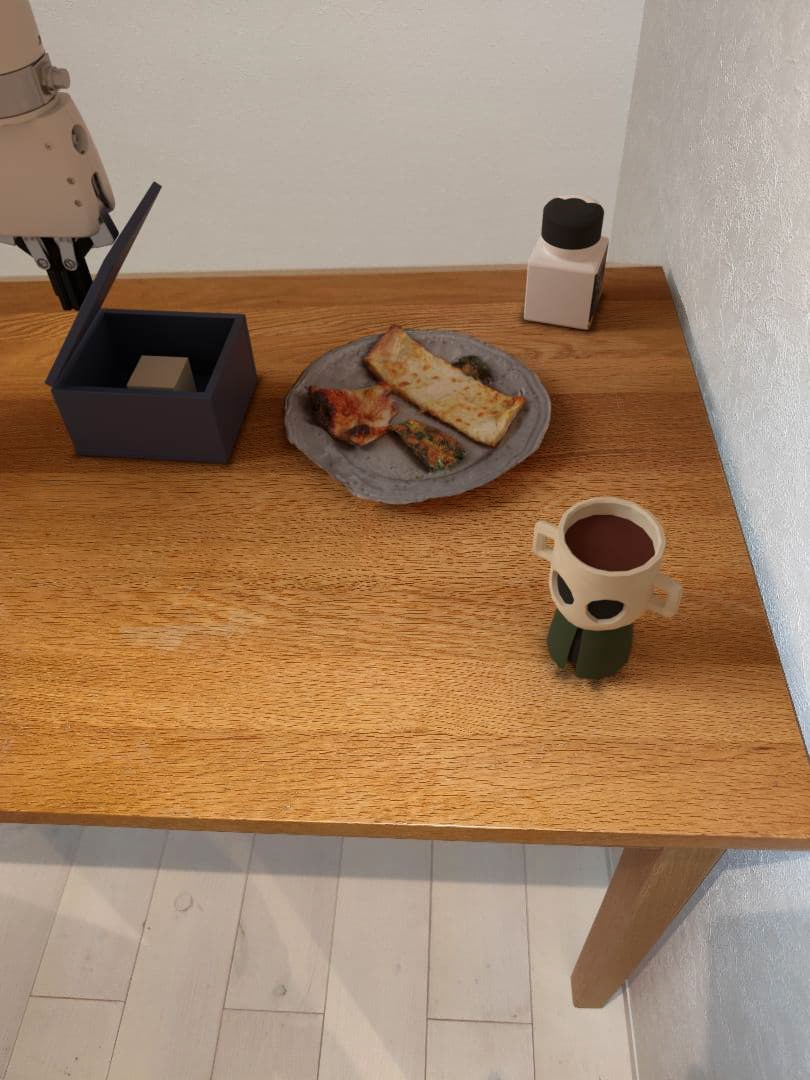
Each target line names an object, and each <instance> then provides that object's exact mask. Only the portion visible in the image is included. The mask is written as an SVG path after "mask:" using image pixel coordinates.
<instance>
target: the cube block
mask: <svg viewBox="0 0 810 1080" xmlns="http://www.w3.org/2000/svg"><path fill="white" fill-rule="evenodd" d="M127 388H129V389H149V390H169V391H189V392H197V390H196V386H195V383H194V379H193V375H192V371H191V367H190V364H189V360H188V358H184V357H163V356H141V358H140V360H139V362H138V364H137V366H136V368H135V370H134V372H133V374H132V376H131V378H130V380H129V382H128V384H127Z"/></svg>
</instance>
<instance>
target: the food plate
mask: <svg viewBox="0 0 810 1080" xmlns="http://www.w3.org/2000/svg"><path fill="white" fill-rule="evenodd" d="M282 406H283V407H282V412H283V418H282V420H283V422H284V425H283V432H284V434H285V436H286V438H287V440H288V442H289V443H290V445H292V446H295V447H296V448H297V449H298V450H299V451H300V452H302V453H303V454H304V456H306V457H308V459H309V460H310V461H311V462H313V463H314V464H315V465H316V466H318V468H319V469H322V470H323V471H325V472H326V473H327V474H328V475H329V476H331V478H332V479H333V480H336V481H338V482H339V483H343V486H344V487H346V489H347V490H348V491H349V493H350V494H351V495H352V496H354V497H357V498H359V499H364V500H370V501H373V502H377V503H383V504H387V505H388V504H389V505H408V504H410V503H412V504H413V503H414V504H415V503H422V502H424V501H426V500H428V499H437V498H439V499H440V498H445V497H452V496H456V495H460V494H464V493H467V492H468V491H472V490H474V489H477V488H478V487H482V486H485V485H487V484H488V483H491V482H492V481H493V480H495V479H497V478H499V477H500V476H502V475H504V474H507V471H509V470H512V469H513V468H516V467H517V465H519V464H520V463H522V462H524V461H525V460H526V458H528V457H530V456H531V455H532V454H534V453H535V452H536V451H537V450H538V449H539V448H540V446H541V445H542V443H543V442H542V441H544V438H545V434H546V433H547V431H548V429H549V427H550V420H551V419H552V417H551V415H552V401H551V397H550V394H549V392H548V390H547V389H546V388H545V386H544V385H543V383H542V381H541V378H540V376H538V374H537V372H536V371H535V370H533V368H532V367H530V366H529V365H527V364H526V363H525V362H523V361H522V360H520V359H519V358H517V357H516V356H513V355H511V354H510V353H508V352H507V351H505V350H503V349H501V348H500V347H497V346H495V345H493V344H491V343H489V342H487V341H485V340H483V339H481V338H478V337H477V336H474V335H471V334H467V333H465V332H460V331H455V330H449V329H447V330H446V329H436V328H434V329H420V328H417V329H414V328H412V329H411V328H408V327H402V325H400V324H399V323H398V324H396V322H394V323H392V324H391V325H390V326H389V328H388V330H387V331H386V332H384V333H383V332H382V333H379V334H377V333H376V334H374V333H373V334H368V335H366V336H362V337H360V338H358V339H355V340H351V341H350V342H347V343H346V344H343V345H340V346H338V347H334V348H333V349H329V350H327V351H326V353H325V352H324V353H323V354H322V355H321V356H319V357H317V358H316V359H315V360H313V361H312V362H310V364H308V365H307V366H306V367H305V369H304V370H303V371H301V373H300V374H299V375H298V377H297V379H296V381H295V382H294V383H293V384H292V386H291V387H290V388H289V390H287V393H286V395H285V396H284V398H283V403H282Z"/></svg>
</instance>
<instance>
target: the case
mask: <svg viewBox="0 0 810 1080" xmlns="http://www.w3.org/2000/svg"><path fill="white" fill-rule="evenodd" d="M249 331H250V330H249V326H248V321H247V316H246V313H231V312H230V313H228V312H205V311H183V310H182V311H179V310H156V309H129V308H108V307H105V308H104V307H101V308H100V310H99V311H98V313H97V315H96V316H95V318H94V320H93V321H92V323H91V325H90V326H89V328H88V330H87V331H86V333H85V335H84V336H83V338H82V340H81V341H80V343H79V345H78V347H77V348H76V350H75V352H74V353H73V355H72V357H71V358H70V360H69V362H68V363H67V365H66V367H65V368H64V370H63V372H62V373H61V375H60V377H59V378H58V380H57V382H56V383H55V385H54V387H50V393H51V395H52V397H53V400H54V402H55V404H56V407H57V410H58V411H59V414H60V416H61V418H62V421H63V423H64V426H65V428H66V431H67V433H68V435H69V438H70V440H71V442H72V445H73V448H74V450H75V453H76V455H78V456H90V457H91V456H92V457H109V458H126V459H127V458H128V459H142V460H160V461H163V460H164V461H175V462H176V461H177V462H178V461H179V462H191V463H192V462H193V463H195V462H196V463H212V464H213V463H214V464H228V462H229V460H230V456H231V455H232V451H233V448H234V445H235V443H236V441H237V438H238V434H239V432H240V430H241V426H242V424H243V421H244V419H245V416H246V414H247V413H246V412H247V410H248V407H249V405H250V402H251V399H252V397H253V393H254V391H255V388H256V386H257V383H258V379H259V378H258V374H257V373H258V371H257V366H256V362H255V356H254V351H253V347H252V342H251V335H250V332H249ZM141 356H163V357H184V358H188V360H189V364H190V367H191V371H192V375H193V379H194V383H195V386H196V390H197V392H189V391H169V390H149V389H129V388H127V384H128V382H129V380H130V378H131V376H132V374H133V372H134V370H135V368H136V366H137V364H138V362H139V360H140V358H141Z"/></svg>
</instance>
